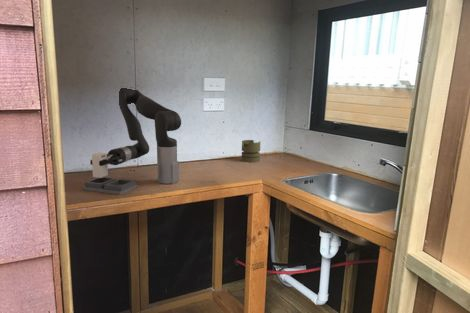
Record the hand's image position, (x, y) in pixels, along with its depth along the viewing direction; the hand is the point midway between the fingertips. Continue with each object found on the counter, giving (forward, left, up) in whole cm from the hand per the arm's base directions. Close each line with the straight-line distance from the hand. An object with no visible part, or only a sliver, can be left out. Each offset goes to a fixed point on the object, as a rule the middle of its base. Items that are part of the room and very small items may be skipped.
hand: (95, 163), depth 158 cm
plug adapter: (0, -3, -6) cm, 7 cm away
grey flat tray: (-5, -3, -11) cm, 13 cm away
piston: (-45, -86, -12) cm, 98 cm away
